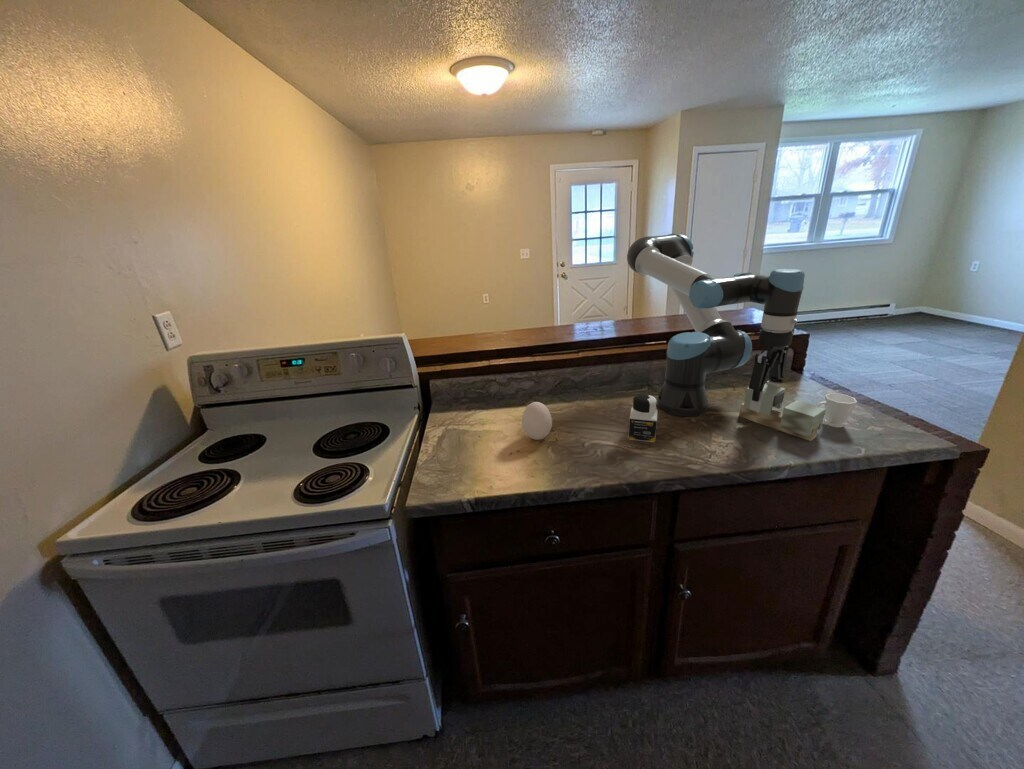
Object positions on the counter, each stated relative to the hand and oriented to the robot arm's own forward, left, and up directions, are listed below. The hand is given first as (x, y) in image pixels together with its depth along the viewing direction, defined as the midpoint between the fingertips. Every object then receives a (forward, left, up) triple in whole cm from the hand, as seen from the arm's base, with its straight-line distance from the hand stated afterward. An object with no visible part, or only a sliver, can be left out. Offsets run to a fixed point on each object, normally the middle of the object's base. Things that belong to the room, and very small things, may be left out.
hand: (761, 406), depth 115 cm
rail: (+4, 0, -5) cm, 6 cm away
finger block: (0, 0, 0) cm, 0 cm away
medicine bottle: (-16, -32, -5) cm, 36 cm away
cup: (+13, +12, -5) cm, 18 cm away
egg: (-34, -56, -5) cm, 66 cm away
